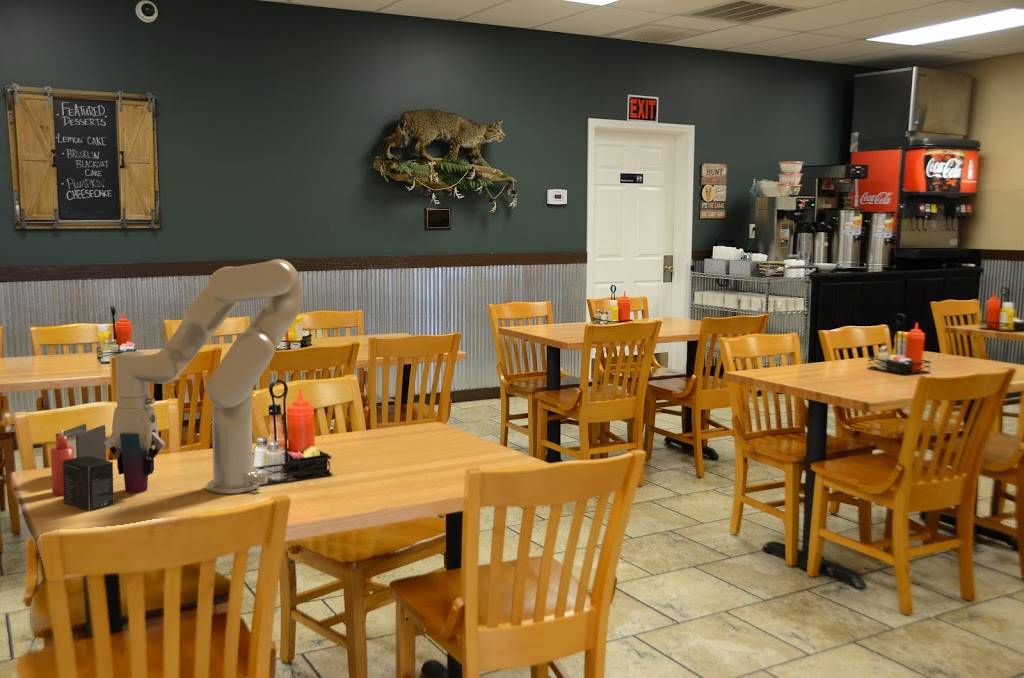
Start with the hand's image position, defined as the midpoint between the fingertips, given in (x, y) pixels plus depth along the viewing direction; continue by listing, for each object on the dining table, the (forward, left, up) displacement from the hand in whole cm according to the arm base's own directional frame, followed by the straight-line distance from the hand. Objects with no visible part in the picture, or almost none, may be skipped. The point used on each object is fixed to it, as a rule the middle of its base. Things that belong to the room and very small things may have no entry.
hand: (135, 473), depth 218 cm
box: (+5, +12, -5) cm, 14 cm away
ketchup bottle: (+16, +5, -4) cm, 17 cm away
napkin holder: (+20, -9, -4) cm, 22 cm away
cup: (0, 0, -5) cm, 5 cm away
